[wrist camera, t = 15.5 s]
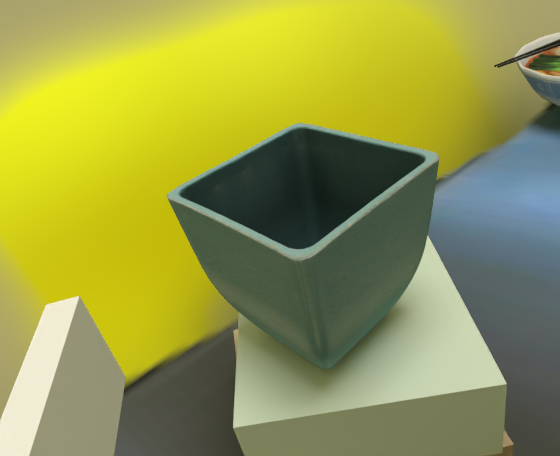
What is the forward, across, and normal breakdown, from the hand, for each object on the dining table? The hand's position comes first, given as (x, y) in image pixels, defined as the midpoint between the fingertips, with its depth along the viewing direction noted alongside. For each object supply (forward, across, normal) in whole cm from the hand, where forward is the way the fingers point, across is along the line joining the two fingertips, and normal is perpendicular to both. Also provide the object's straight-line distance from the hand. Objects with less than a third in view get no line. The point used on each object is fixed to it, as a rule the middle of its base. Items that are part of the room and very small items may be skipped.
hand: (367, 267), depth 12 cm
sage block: (+10, +1, -16) cm, 19 cm away
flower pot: (+10, 0, -11) cm, 15 cm away
